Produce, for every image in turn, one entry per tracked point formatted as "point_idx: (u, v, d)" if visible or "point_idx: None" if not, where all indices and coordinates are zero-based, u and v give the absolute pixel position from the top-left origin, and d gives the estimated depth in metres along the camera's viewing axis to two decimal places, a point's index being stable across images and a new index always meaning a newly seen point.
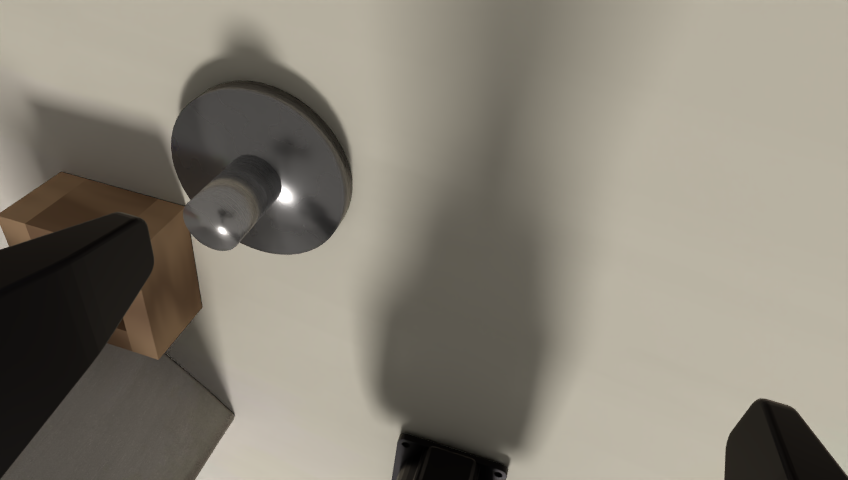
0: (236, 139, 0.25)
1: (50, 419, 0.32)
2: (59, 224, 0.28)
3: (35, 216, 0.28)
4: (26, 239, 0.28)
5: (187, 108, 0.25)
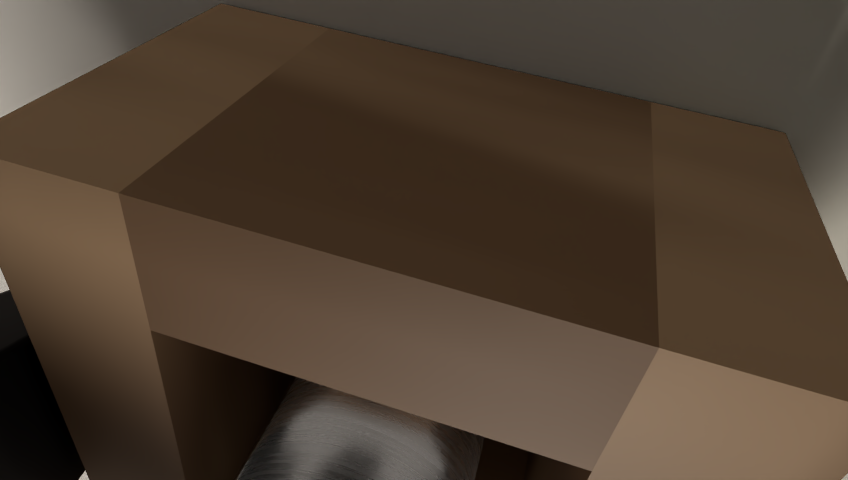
0: None
1: None
2: (315, 200, 0.05)
3: (169, 155, 0.05)
4: (114, 282, 0.05)
5: None
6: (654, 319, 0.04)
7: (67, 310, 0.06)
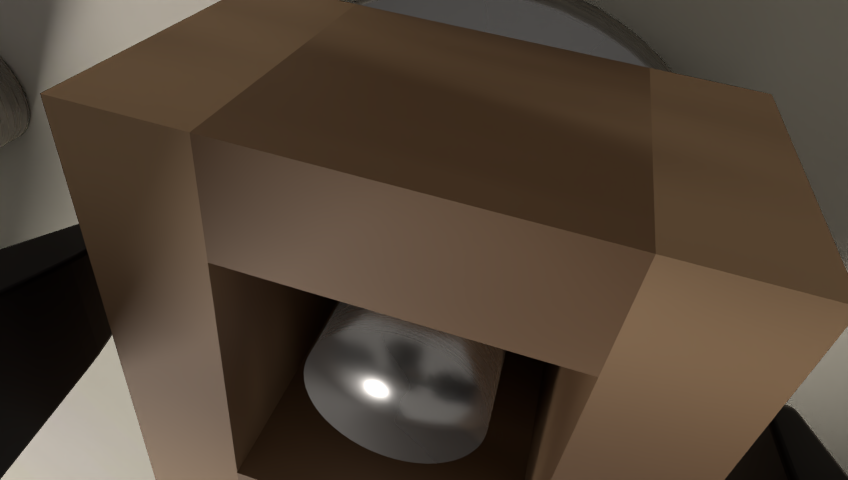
0: None
1: None
2: (356, 140, 0.05)
3: (228, 104, 0.06)
4: (178, 217, 0.06)
5: None
6: (652, 236, 0.05)
7: (132, 247, 0.06)
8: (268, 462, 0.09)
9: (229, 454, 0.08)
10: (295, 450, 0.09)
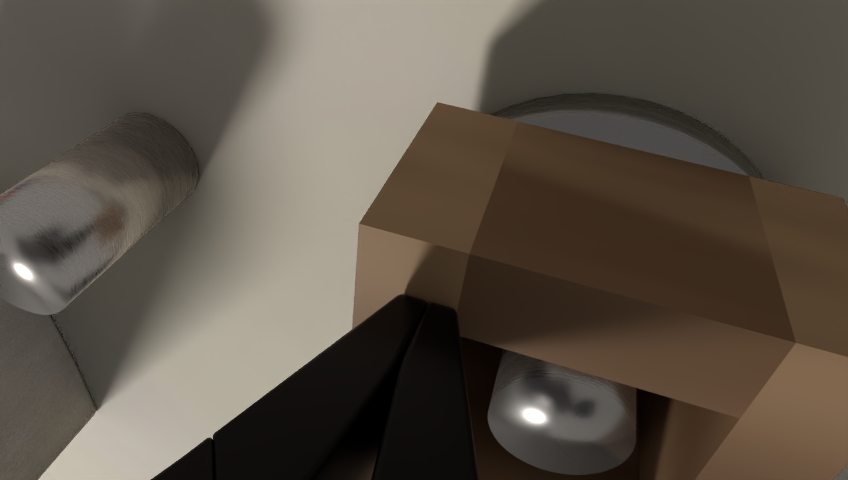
0: None
1: None
2: (576, 255, 0.08)
3: (480, 227, 0.08)
4: None
5: (608, 123, 0.10)
6: (788, 327, 0.07)
7: None
8: None
9: None
10: None
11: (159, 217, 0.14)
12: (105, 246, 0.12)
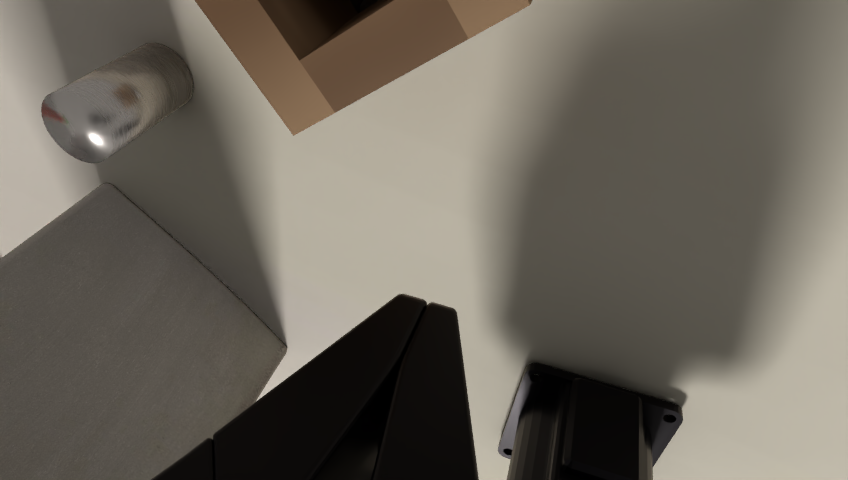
0: None
1: (39, 328, 0.22)
2: None
3: None
4: None
5: None
6: None
7: None
8: (314, 50, 0.15)
9: (285, 46, 0.15)
10: (327, 41, 0.15)
11: (164, 89, 0.21)
12: (120, 96, 0.19)
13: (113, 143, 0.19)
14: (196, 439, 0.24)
